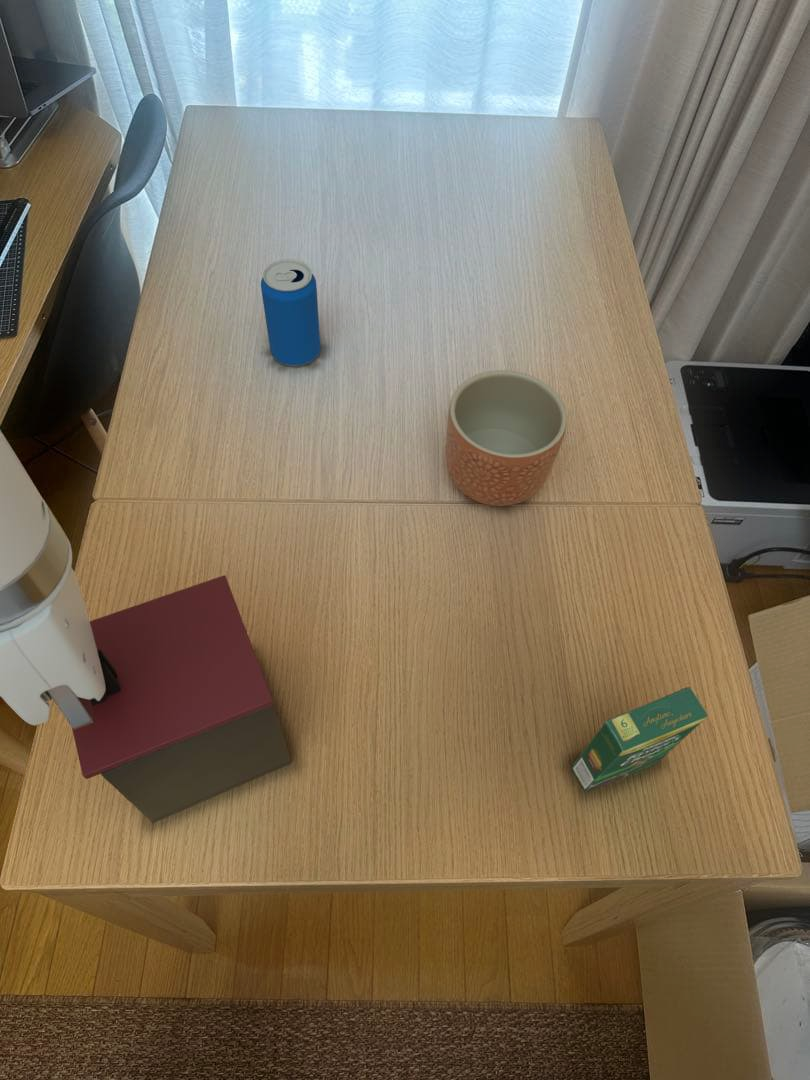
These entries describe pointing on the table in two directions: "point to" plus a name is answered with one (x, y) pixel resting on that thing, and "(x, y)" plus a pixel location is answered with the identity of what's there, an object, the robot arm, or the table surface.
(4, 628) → the robot arm
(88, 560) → the table surface
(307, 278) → the beverage can
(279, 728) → the dark gray box
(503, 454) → the planter
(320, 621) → the table surface
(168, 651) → the keepsake box lid
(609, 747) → the coffee box
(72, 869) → the table surface
